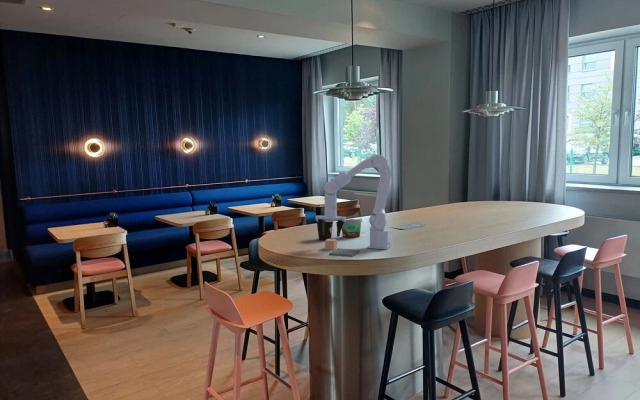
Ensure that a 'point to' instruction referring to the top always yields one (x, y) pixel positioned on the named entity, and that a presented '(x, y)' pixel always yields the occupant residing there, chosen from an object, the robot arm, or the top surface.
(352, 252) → the mat
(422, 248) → the top surface
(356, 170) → the robot arm
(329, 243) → the cube
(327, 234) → the coffee mug
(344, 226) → the food container
